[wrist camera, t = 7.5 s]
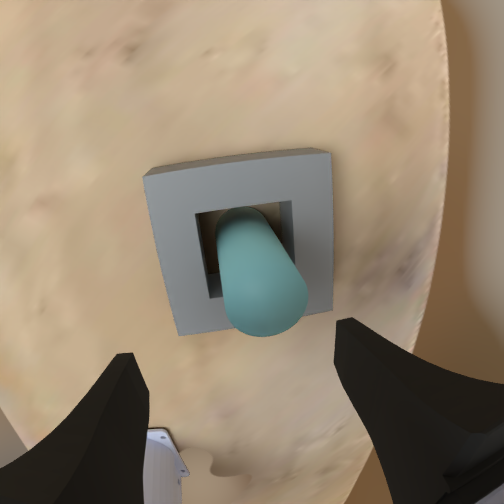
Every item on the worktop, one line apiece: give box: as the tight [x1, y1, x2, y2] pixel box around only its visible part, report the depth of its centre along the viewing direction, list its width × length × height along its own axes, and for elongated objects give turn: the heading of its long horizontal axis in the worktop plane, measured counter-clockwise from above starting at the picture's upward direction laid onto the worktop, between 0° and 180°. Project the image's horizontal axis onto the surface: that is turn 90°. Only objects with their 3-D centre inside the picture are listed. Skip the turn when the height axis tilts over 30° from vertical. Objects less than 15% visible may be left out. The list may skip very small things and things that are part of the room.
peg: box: [215, 206, 308, 337], centre depth 16 cm, size 3×3×8 cm
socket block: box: [142, 148, 334, 336], centre depth 18 cm, size 9×9×3 cm
